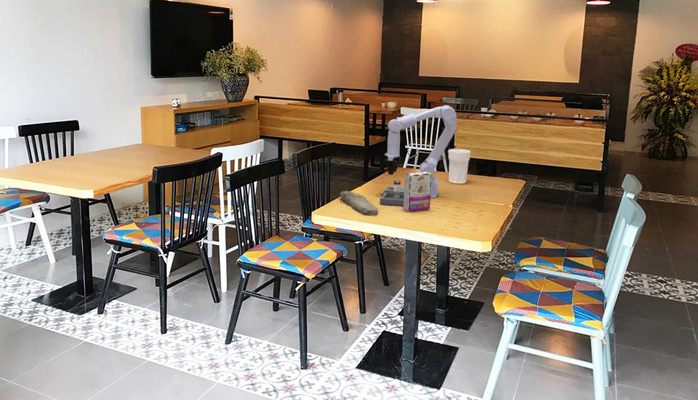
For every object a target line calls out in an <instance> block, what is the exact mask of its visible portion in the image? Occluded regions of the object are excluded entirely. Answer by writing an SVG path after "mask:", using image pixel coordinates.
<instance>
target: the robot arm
mask: <svg viewBox="0 0 698 400" xmlns="http://www.w3.org/2000/svg"><path fill="white" fill-rule="evenodd" d="M431 118H439V119H442V121H443V123H444V127H445V128H444V130H443V131H442V133H441V135H440V136H439V138H438V140H437V141H436V143H435V145H434V146H433V149H432V150H431V152H430V153H429V155H428V156H427V158H426V159H425V160H424V161H423V162H422V163H420V166H419V172H429V173H431V192H430V198H435V199H436V198H437V197H438V194H439V178H438V177H437V178H436V177H435V176H434V175H435V174H436V173H435V171H436V168H437V165H438V163H439V160H440V158H441V157H442V155H443V153H444V151H445V150H446V148H447V146H448V145H449V143H450V141H451V139H452V138H453V136H454V134H455V132H456V130H457V128H458V126H457V113H456V111H455V108H453V107H452V106H450V105H447V104H445V105H442V106H437V107H433V108H431V109H428V110H426V111H425V110H424V111H423V112H420V113H418V114H414V113H409V112H408V113H406V115H403V116H401V117H399V116H398V117H396V119H391V120H389V122H388V124H387V129H389V130H388V135H387V152H386V153H384V156H387V158H386V159H384V162H385V164H386V168H387V173H388V175H391V176H394V173H396V172H397V170H398V166H399V163H400V160H401V159H402V157H401V156H400V149H401V148H400V144H401V143H400V142H401V135H400V134H401V132H400V131H401V130H404V129H405V130H406V129H408V128H411V127H414V126H416V125H417V122H420V121H425V120H427V119H431Z"/></svg>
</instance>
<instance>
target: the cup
mask: <svg viewBox="0 0 698 400" xmlns="http://www.w3.org/2000/svg"><path fill="white" fill-rule="evenodd" d="M447 158H448V161H449V165H448V183H449V184H450V185H460V186H461V185H466V184H467V179H468V178H467V175H468V168H469V161H470V159H471V150H468V149H464V148H463V149H462V148H451V149H449V150H448V157H447Z"/></svg>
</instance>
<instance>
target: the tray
mask: <svg viewBox="0 0 698 400" xmlns="http://www.w3.org/2000/svg"><path fill="white" fill-rule="evenodd" d="M384 193H385V192H384ZM379 205H382V206H391V207H401V208H403V207H404V194H400V200H397V199H393V193H387V192H386V193H385V194H384V195H383V196H382V197H381V196H380V198H379Z"/></svg>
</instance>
